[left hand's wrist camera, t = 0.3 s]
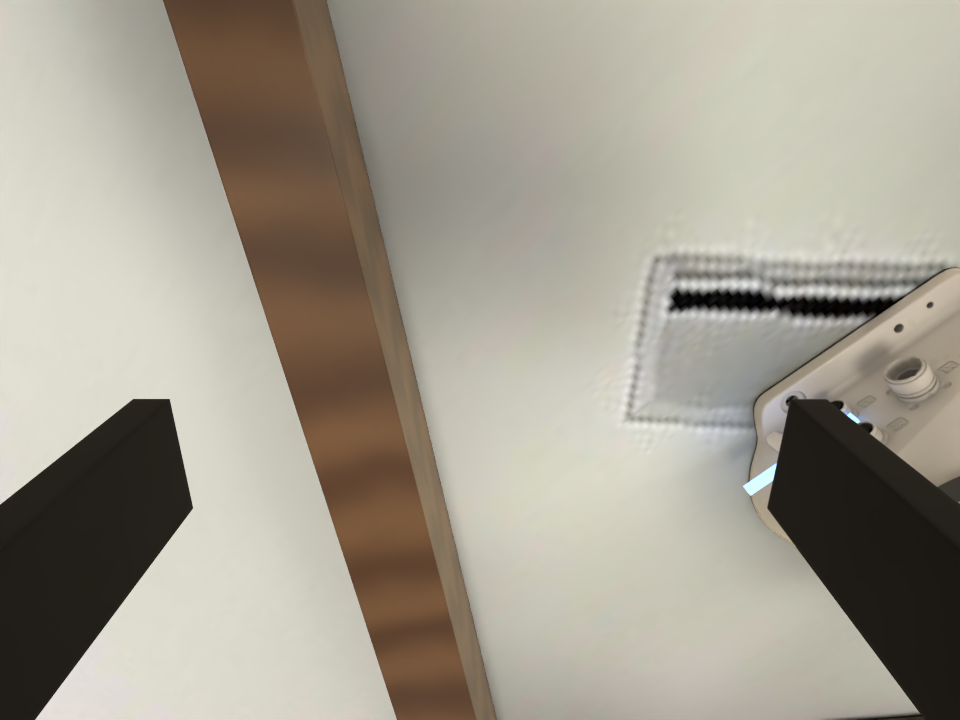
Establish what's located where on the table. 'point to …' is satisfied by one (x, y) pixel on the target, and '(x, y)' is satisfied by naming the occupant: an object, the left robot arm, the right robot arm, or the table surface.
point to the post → (337, 330)
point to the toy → (907, 718)
